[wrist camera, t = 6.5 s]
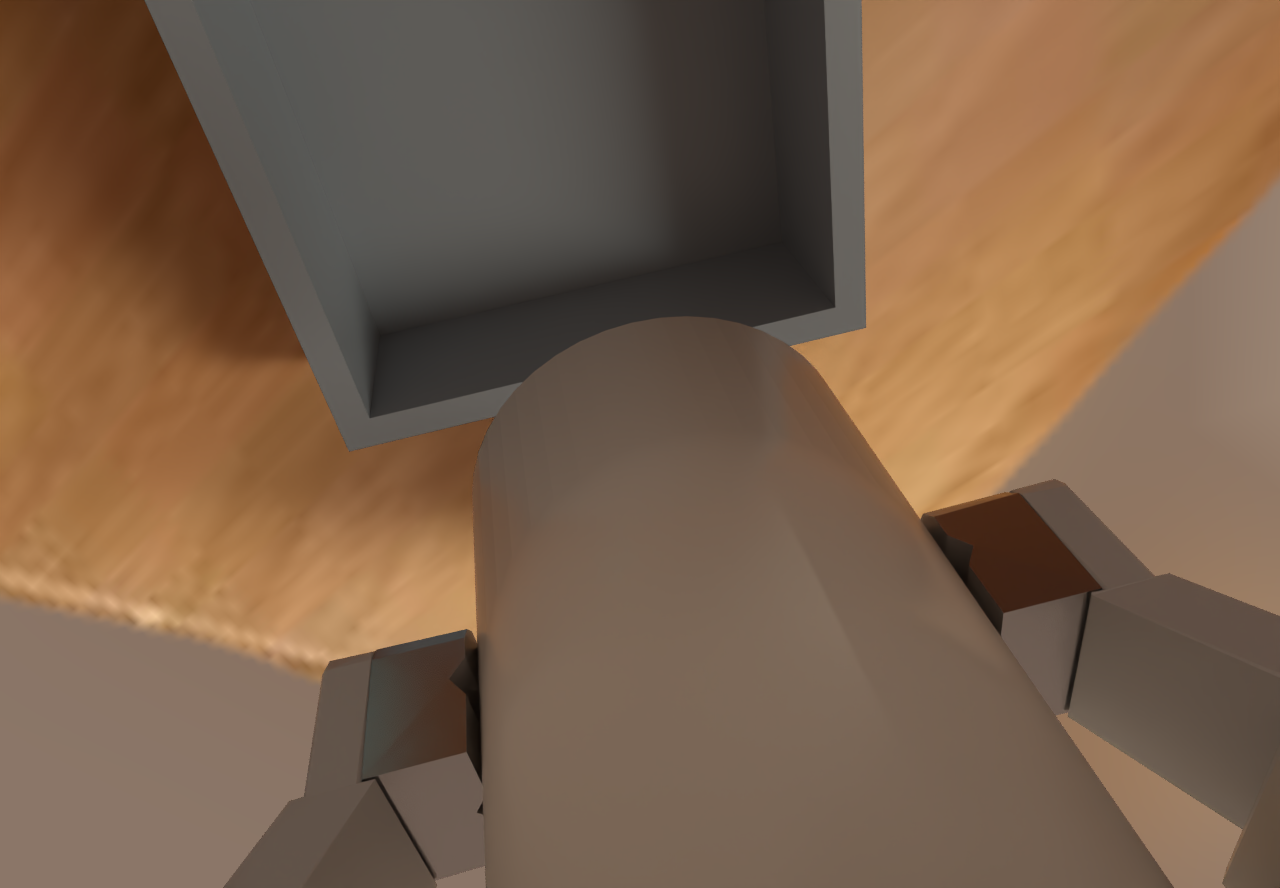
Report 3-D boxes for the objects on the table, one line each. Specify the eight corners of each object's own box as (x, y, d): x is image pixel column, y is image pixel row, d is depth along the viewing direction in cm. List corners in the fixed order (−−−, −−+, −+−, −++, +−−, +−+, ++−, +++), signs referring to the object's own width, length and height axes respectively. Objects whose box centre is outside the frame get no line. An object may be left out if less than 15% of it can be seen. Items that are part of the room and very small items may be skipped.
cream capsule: (420, 372, 10) (383, 1056, 4) (839, 273, 10) (1311, 804, 5) (525, 658, 13) (583, 1292, 7) (850, 575, 13) (1150, 1129, 8)
